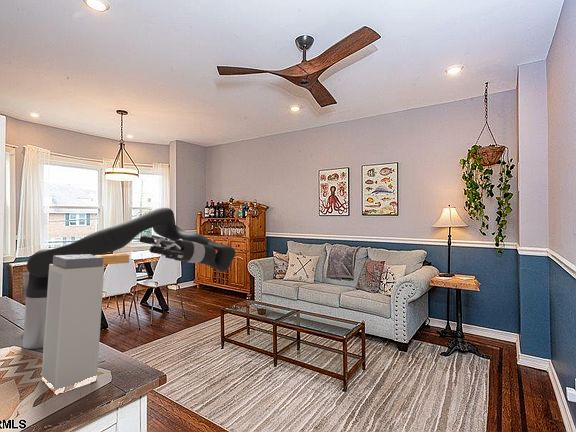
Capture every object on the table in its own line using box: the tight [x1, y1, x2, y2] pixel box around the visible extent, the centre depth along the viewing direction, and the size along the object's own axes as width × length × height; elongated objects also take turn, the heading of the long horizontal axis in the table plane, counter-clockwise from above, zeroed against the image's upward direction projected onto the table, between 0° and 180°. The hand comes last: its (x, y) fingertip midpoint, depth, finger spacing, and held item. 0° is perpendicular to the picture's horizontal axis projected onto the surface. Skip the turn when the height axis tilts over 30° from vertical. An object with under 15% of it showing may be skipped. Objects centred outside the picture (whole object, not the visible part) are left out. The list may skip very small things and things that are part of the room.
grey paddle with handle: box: [53, 253, 130, 269], centre depth 92 cm, size 10×18×2 cm, turn 143°
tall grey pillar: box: [41, 264, 105, 390], centre depth 87 cm, size 12×10×32 cm
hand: (145, 243), depth 100 cm, fingers open, 8 cm apart
